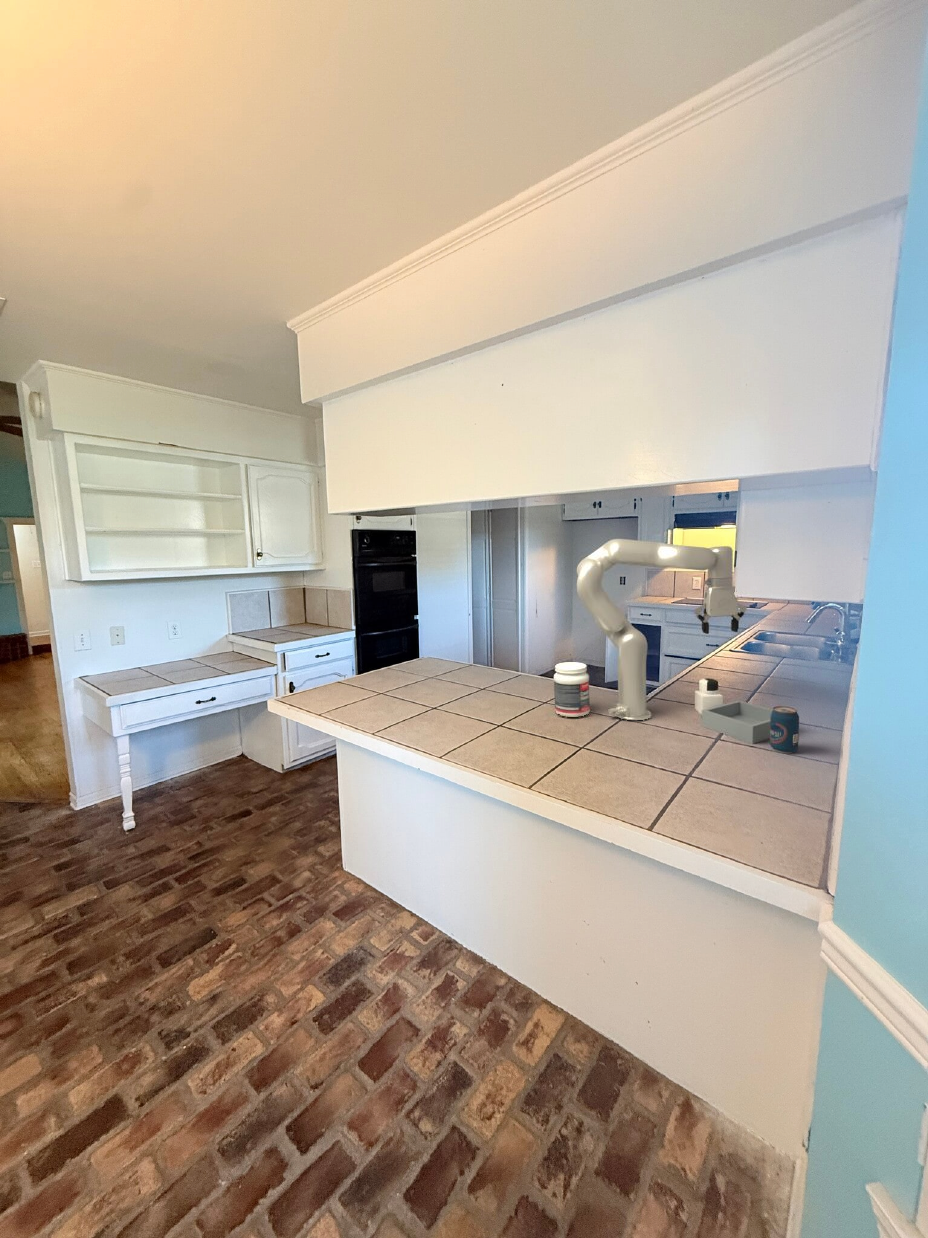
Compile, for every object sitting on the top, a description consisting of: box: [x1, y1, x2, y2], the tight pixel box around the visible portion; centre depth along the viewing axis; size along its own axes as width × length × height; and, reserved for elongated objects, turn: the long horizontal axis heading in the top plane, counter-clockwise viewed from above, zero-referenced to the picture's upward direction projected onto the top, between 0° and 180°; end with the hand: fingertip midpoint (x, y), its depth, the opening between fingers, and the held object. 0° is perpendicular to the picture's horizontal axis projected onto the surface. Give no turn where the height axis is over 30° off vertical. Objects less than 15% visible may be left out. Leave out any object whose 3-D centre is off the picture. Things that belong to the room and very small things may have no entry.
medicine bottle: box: [694, 677, 724, 715], centre depth 175 cm, size 7×7×12 cm
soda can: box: [769, 705, 800, 754], centre depth 141 cm, size 7×7×12 cm
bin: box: [700, 700, 773, 745], centre depth 158 cm, size 18×18×6 cm
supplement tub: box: [553, 661, 591, 717], centre depth 182 cm, size 13×13×18 cm
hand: (720, 632), depth 170 cm, fingers open, 9 cm apart
